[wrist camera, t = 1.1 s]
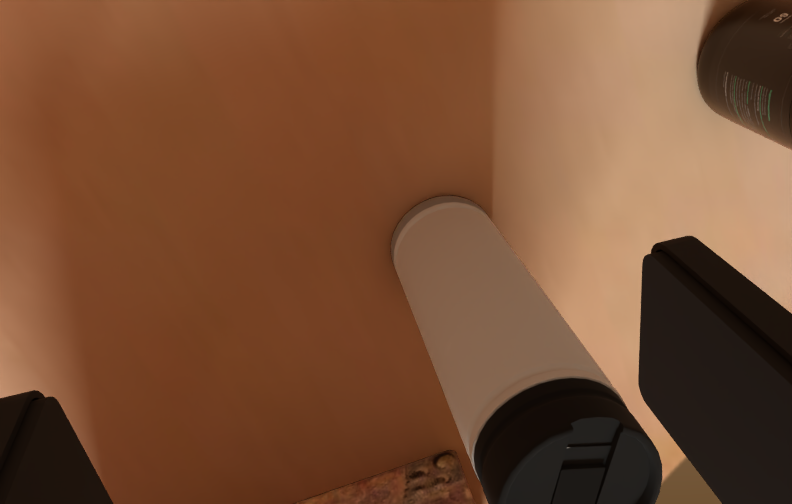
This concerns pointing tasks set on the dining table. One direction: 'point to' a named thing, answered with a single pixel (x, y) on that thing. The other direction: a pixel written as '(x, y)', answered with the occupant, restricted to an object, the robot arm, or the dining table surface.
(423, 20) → the dining table surface
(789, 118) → the supplement bottle
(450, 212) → the travel mug
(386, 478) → the book
